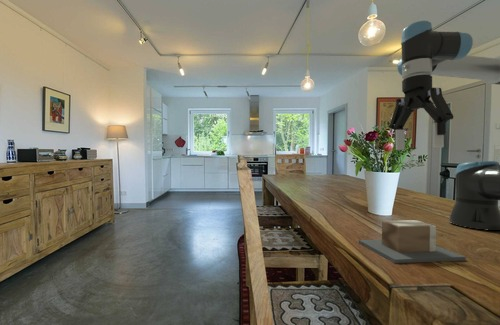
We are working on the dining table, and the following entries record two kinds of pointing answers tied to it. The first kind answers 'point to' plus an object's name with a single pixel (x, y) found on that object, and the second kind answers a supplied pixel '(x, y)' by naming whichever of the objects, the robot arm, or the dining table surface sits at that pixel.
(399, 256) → the mat
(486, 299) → the dining table surface
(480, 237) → the dining table surface
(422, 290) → the dining table surface
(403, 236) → the block
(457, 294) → the dining table surface
